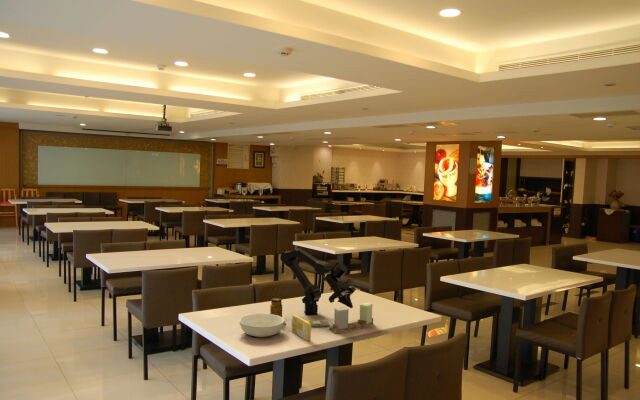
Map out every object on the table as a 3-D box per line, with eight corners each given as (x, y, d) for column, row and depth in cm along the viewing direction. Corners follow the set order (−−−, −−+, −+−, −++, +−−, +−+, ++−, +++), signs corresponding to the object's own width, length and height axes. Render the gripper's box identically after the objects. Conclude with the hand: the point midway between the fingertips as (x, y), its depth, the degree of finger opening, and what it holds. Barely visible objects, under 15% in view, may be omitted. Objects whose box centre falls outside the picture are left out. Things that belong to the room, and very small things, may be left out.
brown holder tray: (338, 334, 230) (338, 327, 230) (327, 329, 237) (327, 322, 237) (376, 325, 245) (376, 318, 245) (364, 321, 252) (365, 314, 252)
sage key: (359, 322, 244) (359, 304, 243) (364, 320, 248) (365, 302, 248) (366, 324, 241) (367, 306, 241) (372, 321, 246) (372, 303, 246)
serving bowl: (250, 344, 215) (250, 329, 215) (232, 331, 233) (232, 316, 233) (291, 336, 226) (292, 322, 226) (271, 324, 244) (271, 311, 244)
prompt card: (309, 327, 240) (310, 324, 240) (307, 323, 247) (307, 320, 247) (329, 327, 242) (329, 323, 242) (327, 322, 249) (327, 319, 249)
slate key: (333, 327, 236) (334, 308, 236) (343, 325, 239) (344, 307, 238) (338, 329, 232) (338, 310, 232) (348, 327, 235) (348, 309, 235)
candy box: (311, 341, 221) (311, 323, 221) (307, 341, 220) (307, 323, 220) (295, 330, 235) (295, 313, 235) (291, 331, 234) (291, 314, 234)
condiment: (270, 320, 251) (270, 297, 251) (286, 320, 251) (287, 297, 251) (268, 324, 244) (269, 300, 244) (285, 324, 244) (285, 301, 244)
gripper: (333, 276, 244) (352, 302, 238) (353, 271, 259) (371, 295, 253) (320, 290, 249) (338, 315, 243) (340, 284, 264) (357, 307, 258)
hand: (352, 307), depth 249 cm, fingers closed
